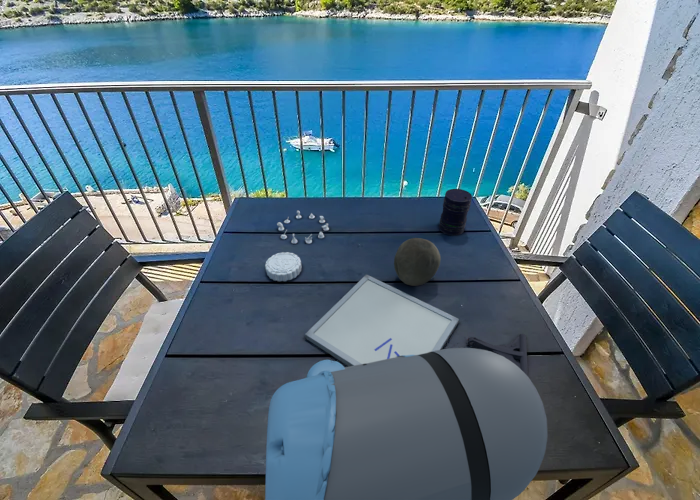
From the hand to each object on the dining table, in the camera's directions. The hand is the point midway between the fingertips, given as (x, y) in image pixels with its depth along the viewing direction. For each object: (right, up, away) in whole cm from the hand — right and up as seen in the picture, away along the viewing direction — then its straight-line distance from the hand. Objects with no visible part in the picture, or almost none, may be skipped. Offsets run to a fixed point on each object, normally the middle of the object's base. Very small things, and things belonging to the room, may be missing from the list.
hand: (491, 413), depth 71 cm
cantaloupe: (-8, +24, +44) cm, 51 cm away
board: (-19, +11, +27) cm, 35 cm away
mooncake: (-51, +26, +48) cm, 75 cm away
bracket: (+10, +6, +22) cm, 25 cm away
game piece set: (-47, +42, +67) cm, 92 cm away
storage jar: (+11, +42, +67) cm, 80 cm away
